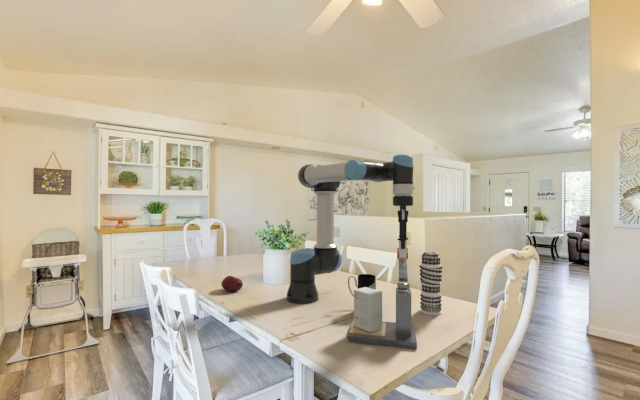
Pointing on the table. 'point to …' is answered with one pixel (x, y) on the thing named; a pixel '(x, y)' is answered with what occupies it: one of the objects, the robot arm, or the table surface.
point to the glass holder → (364, 281)
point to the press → (390, 327)
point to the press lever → (402, 272)
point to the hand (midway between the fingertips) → (402, 257)
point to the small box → (368, 309)
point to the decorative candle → (430, 283)
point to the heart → (231, 284)
